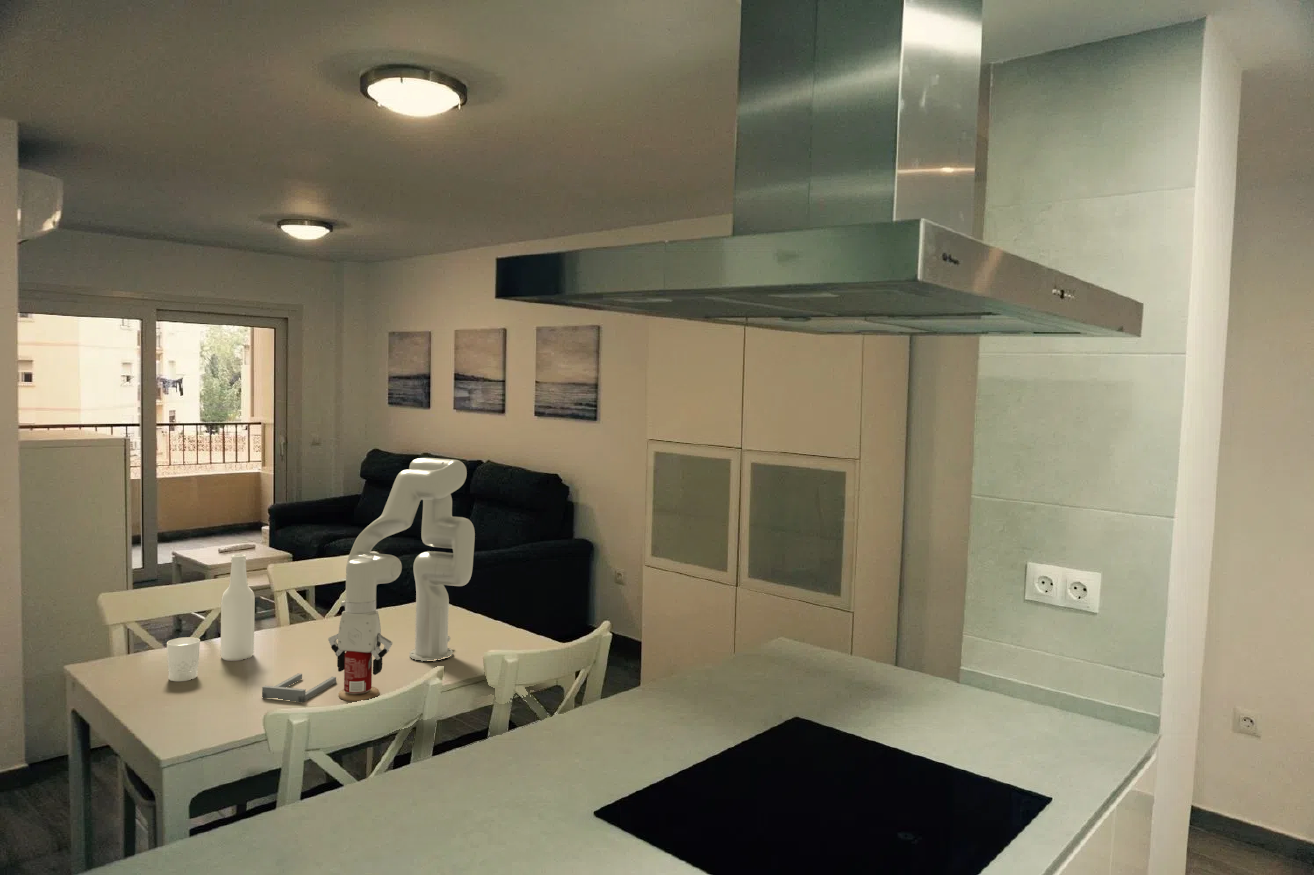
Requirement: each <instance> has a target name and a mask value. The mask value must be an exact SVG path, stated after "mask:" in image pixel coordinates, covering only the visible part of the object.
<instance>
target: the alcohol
mask: <svg viewBox="0 0 1314 875" xmlns="http://www.w3.org/2000/svg"><path fill="white" fill-rule="evenodd" d="M230 558H231V560H230V562H231V564H230V565H231V566H230V574H229V584H228V587H227V588H226V589H225V590H224V591H223V593H222V596H221V601H220V603H221V604H220V657H221V658H222V660H224V661H228V662H235V661H239V662H240V661H244V660H243V659H245V660H247V658H248V659H250V658H251V657H253V655H254V653H255V607H256V606H255V602H256V601H255V600H256V599H255V598H256V597H255V592H254V591H253V590H252V588H251V587H250V586H249V584H248V576H247V572H248V571H247V555H246V554H241V553H240V554H232V555H231V556H230Z"/></svg>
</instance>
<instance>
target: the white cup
mask: <svg viewBox="0 0 1314 875" xmlns="http://www.w3.org/2000/svg"><path fill="white" fill-rule="evenodd" d="M200 646H201V639H200V638H197V637H191V636H188V637H187V636H185V637H178V638H173V639H170V640H168V641H167V642H166V656H167V660H166V662H167V670H168V672H167V673H168V680H169V681H171V682H187V681H191V679H192V680H194V679H196V678H197V677H198V670H199V663H200V662H199V659H200Z"/></svg>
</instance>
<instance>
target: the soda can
mask: <svg viewBox="0 0 1314 875" xmlns="http://www.w3.org/2000/svg"><path fill="white" fill-rule="evenodd" d="M343 671H344V672H343V674H344V675H343V677H344V678H343V679H344V680H343V681H344V682H343V689H344V691H345V692H346V693H348V694H350V695H362V694H365V693H367V692H368V691H370V690H371V686H372V684H373V683H372V682H373V681H372V680H373V679H372V678H373V654H372V653H371V652H370V653H361V652H355V651H345V667H344V670H343ZM372 687H373V686H372Z"/></svg>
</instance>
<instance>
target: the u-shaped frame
mask: <svg viewBox="0 0 1314 875" xmlns="http://www.w3.org/2000/svg"><path fill="white" fill-rule="evenodd" d="M300 679H302V680H303V673H297V674H294V675H293V676H290V677H289V678H288V679H286V680H284V681H281V682H279V683H277V684H276V685H263V686H262V687H261V698H262V697H263V698H278V699H283V700H290V701H289V702H291V701H296V702H295V703H301V702H302V703H304V702H306V701H308V700H309V699H311V698H312V697H315V696H316V695H318V694H319V693H321V692H323V691H324V690H326V689H328V688H329V687H331V686H333V685H335V684H336V683H337V676H331V677H328V678H327V679H325V680H324V681H322V682H321V683H319V684H316V685H315V686H313V687H312V688H309V689H308V690H307V691H306V689H303V688H294V687H290V686H289V685H291V684H293V683H294V684H296V683H298V682H300V681H301V680H300ZM299 680H300V681H299ZM297 681H298V682H297ZM295 682H296V683H295ZM294 684H293V685H294ZM287 686H289V687H287ZM291 686H292V685H291ZM286 687H287V688H286Z"/></svg>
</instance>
